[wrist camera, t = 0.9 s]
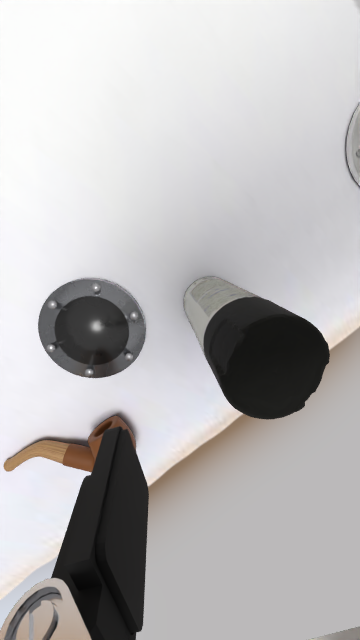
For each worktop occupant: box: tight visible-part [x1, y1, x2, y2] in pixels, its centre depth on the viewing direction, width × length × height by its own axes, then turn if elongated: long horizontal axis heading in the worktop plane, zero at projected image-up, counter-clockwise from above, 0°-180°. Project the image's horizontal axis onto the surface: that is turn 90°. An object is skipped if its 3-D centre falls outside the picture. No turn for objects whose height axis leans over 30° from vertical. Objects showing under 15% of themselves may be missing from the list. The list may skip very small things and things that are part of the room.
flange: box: [38, 278, 145, 378], centre depth 32 cm, size 13×13×1 cm
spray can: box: [184, 277, 330, 419], centre depth 24 cm, size 7×7×20 cm
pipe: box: [4, 416, 136, 472], centre depth 35 cm, size 8×19×6 cm, turn 109°
